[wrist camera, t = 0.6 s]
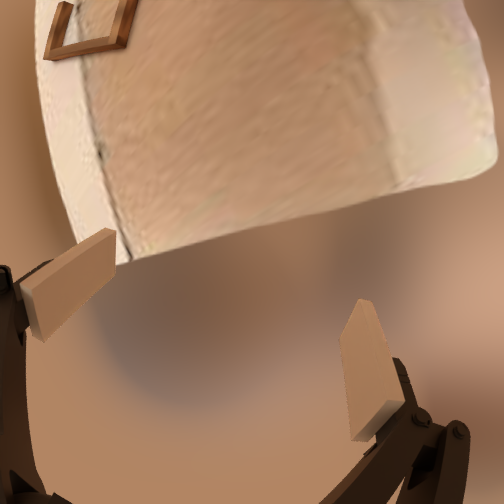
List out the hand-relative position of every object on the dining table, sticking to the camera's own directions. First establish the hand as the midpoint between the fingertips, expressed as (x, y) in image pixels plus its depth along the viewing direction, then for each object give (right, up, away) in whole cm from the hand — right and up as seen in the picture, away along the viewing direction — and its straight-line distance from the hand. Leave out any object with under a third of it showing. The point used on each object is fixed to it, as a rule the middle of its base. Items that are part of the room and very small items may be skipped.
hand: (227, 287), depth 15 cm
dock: (-25, +41, +17) cm, 51 cm away
